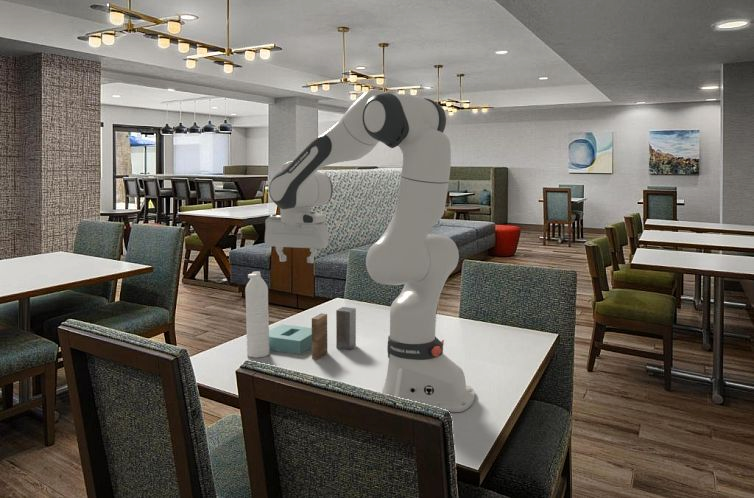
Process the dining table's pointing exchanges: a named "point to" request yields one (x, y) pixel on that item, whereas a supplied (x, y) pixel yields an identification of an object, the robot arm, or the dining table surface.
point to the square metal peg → (346, 328)
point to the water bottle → (257, 316)
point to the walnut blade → (319, 336)
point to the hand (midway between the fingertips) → (296, 262)
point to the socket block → (290, 338)
